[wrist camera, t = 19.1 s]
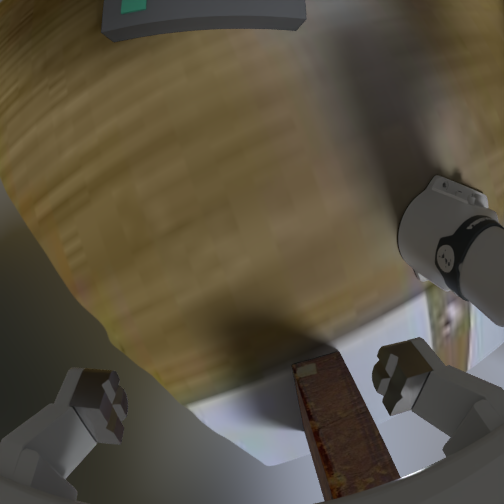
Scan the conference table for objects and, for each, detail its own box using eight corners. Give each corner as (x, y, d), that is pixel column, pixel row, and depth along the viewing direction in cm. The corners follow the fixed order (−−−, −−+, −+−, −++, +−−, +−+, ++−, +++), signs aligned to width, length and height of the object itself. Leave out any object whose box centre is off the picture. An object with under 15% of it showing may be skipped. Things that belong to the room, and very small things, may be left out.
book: (340, 420, 63) (380, 523, 35) (303, 431, 63) (334, 538, 35) (338, 349, 53) (406, 487, 25) (290, 363, 52) (337, 513, 25)
